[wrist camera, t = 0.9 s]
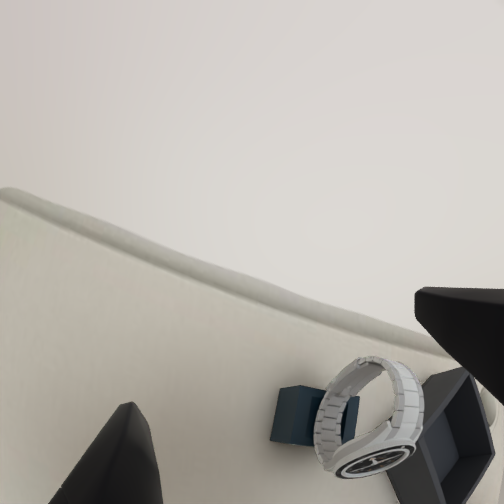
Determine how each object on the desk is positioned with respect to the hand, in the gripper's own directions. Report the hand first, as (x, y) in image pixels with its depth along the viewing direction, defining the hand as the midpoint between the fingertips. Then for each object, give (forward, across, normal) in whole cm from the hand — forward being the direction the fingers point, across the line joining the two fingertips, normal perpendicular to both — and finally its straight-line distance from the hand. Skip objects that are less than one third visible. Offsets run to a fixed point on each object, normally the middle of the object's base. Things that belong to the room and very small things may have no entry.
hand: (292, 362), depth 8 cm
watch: (+10, -2, +14) cm, 18 cm away
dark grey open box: (+6, -14, +26) cm, 30 cm away
